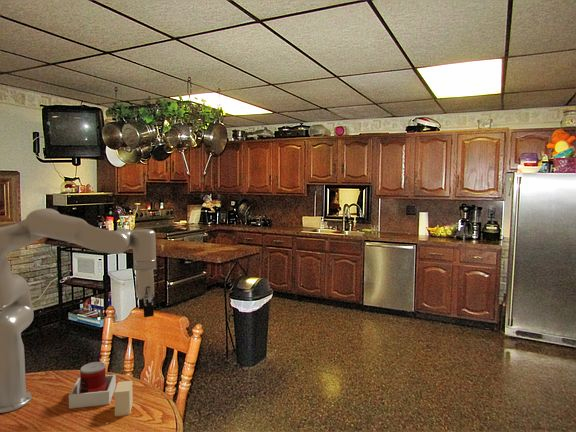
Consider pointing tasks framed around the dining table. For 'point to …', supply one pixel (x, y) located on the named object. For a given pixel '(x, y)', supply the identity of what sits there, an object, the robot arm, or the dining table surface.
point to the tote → (92, 394)
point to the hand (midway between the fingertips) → (146, 312)
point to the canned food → (93, 377)
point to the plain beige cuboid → (123, 398)
